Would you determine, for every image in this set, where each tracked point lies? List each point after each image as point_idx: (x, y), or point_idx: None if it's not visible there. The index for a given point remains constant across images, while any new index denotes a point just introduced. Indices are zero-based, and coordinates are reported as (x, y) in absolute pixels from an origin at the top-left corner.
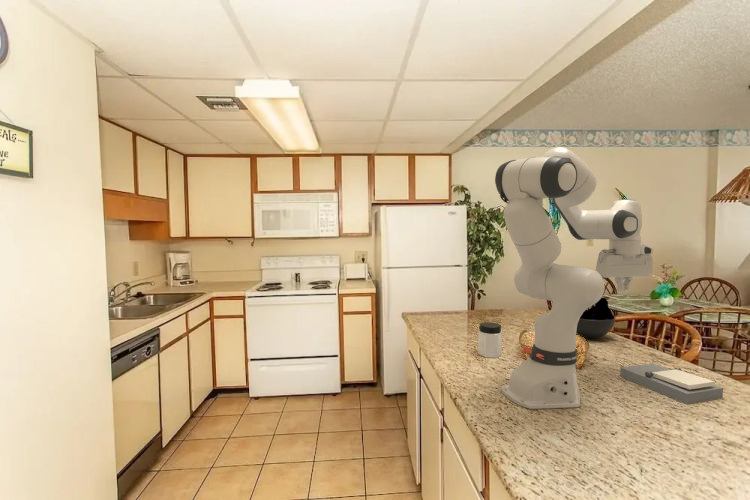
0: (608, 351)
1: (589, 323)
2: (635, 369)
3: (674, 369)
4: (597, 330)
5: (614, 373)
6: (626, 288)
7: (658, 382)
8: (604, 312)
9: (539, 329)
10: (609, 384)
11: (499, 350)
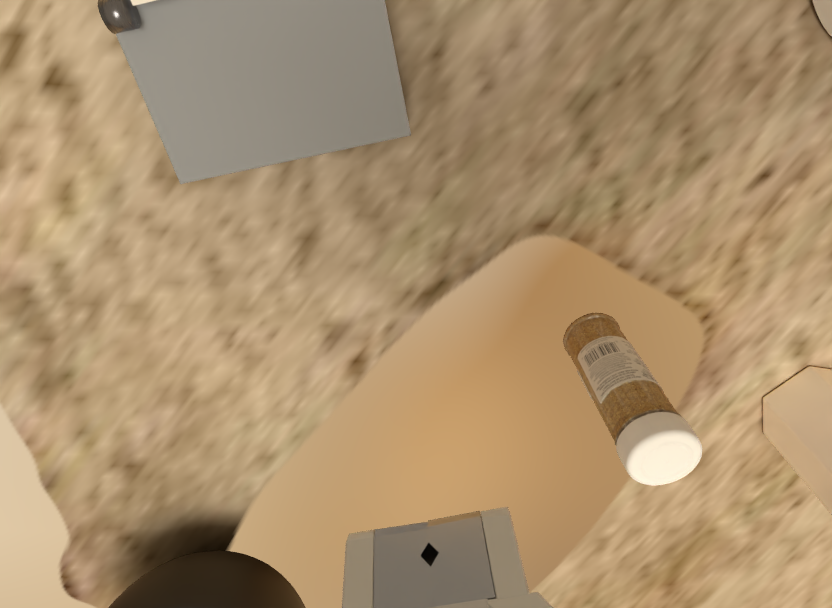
0: (247, 422)
1: (253, 600)
2: (347, 96)
3: (145, 1)
4: (218, 566)
5: (410, 162)
6: (407, 546)
7: None
8: None
9: None
10: (548, 15)
11: (807, 397)
